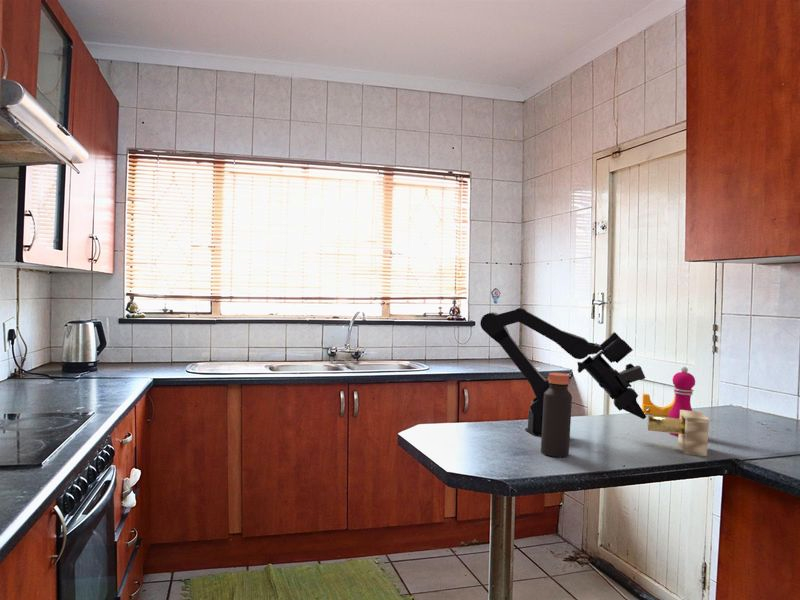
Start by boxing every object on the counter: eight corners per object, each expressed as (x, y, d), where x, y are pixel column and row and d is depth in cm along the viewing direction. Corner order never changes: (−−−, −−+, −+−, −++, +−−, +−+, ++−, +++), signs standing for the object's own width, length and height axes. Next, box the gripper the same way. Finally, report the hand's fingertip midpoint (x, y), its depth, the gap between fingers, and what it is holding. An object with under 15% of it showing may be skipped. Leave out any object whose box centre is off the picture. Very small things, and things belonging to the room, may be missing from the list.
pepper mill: (697, 435, 170) (701, 367, 169) (689, 439, 164) (694, 369, 164) (671, 429, 174) (675, 364, 174) (663, 433, 169) (667, 366, 169)
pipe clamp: (643, 414, 196) (644, 395, 195) (641, 412, 200) (642, 393, 200) (681, 418, 192) (682, 399, 192) (679, 415, 196) (680, 396, 196)
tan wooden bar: (649, 432, 154) (650, 417, 154) (647, 428, 158) (647, 414, 158) (702, 437, 150) (703, 422, 150) (699, 434, 154) (700, 419, 154)
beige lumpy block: (685, 453, 149) (687, 417, 149) (678, 443, 158) (680, 409, 158) (706, 456, 147) (709, 419, 147) (697, 446, 157) (700, 411, 157)
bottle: (538, 449, 147) (542, 371, 147) (564, 450, 147) (569, 372, 146) (543, 457, 140) (548, 375, 140) (571, 458, 140) (576, 377, 140)
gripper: (630, 359, 148) (675, 405, 145) (623, 351, 166) (663, 392, 163) (597, 386, 150) (640, 433, 148) (593, 376, 168) (631, 417, 166)
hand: (644, 417), depth 156 cm, fingers closed
